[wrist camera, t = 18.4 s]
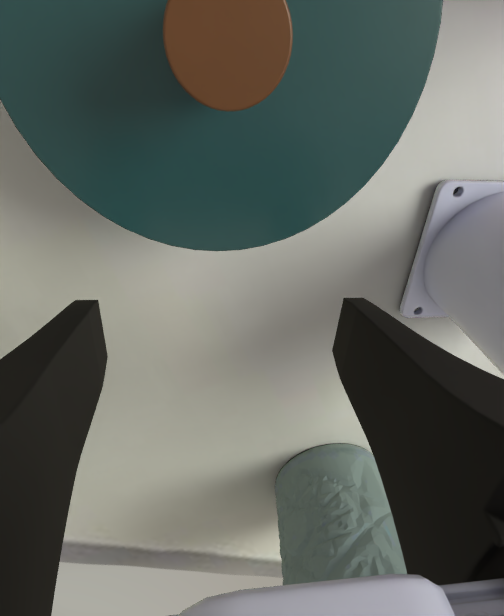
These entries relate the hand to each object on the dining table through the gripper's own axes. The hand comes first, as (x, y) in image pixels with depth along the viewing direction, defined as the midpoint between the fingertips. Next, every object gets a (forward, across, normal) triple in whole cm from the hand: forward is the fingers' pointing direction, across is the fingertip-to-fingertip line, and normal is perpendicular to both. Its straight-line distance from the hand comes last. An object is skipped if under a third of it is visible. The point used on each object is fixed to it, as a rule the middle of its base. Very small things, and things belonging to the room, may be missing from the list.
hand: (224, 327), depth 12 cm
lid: (+4, 0, -7) cm, 8 cm away
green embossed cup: (+9, -9, +22) cm, 25 cm away
